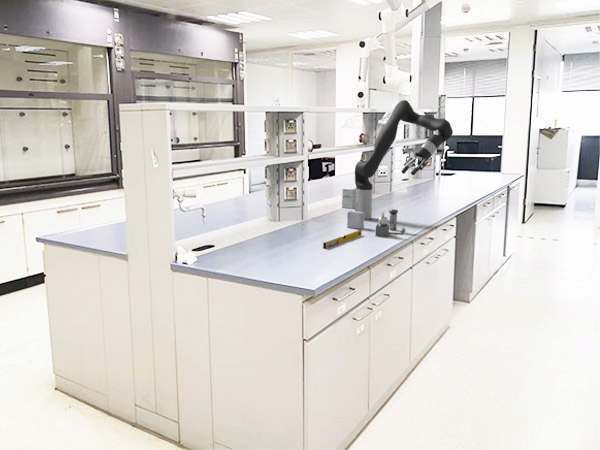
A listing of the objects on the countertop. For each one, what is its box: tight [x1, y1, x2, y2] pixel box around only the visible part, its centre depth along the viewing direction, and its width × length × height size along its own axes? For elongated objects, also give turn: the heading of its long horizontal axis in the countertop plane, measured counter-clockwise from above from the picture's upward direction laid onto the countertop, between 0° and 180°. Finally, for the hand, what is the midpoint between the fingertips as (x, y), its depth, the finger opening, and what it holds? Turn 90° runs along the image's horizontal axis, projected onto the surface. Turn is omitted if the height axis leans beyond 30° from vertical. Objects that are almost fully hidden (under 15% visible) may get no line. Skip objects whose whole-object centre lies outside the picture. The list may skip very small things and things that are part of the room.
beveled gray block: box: [374, 211, 390, 238], centre depth 263 cm, size 6×6×12 cm
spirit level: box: [322, 229, 363, 250], centre depth 250 cm, size 33×1×3 cm, turn 145°
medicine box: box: [346, 210, 365, 230], centre depth 281 cm, size 8×4×9 cm, turn 59°
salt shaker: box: [388, 208, 399, 231], centre depth 273 cm, size 4×4×10 cm
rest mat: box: [389, 227, 406, 235], centre depth 274 cm, size 11×14×1 cm
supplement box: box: [341, 187, 356, 209], centre depth 343 cm, size 7×7×13 cm
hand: (407, 173), depth 281 cm, fingers open, 8 cm apart
